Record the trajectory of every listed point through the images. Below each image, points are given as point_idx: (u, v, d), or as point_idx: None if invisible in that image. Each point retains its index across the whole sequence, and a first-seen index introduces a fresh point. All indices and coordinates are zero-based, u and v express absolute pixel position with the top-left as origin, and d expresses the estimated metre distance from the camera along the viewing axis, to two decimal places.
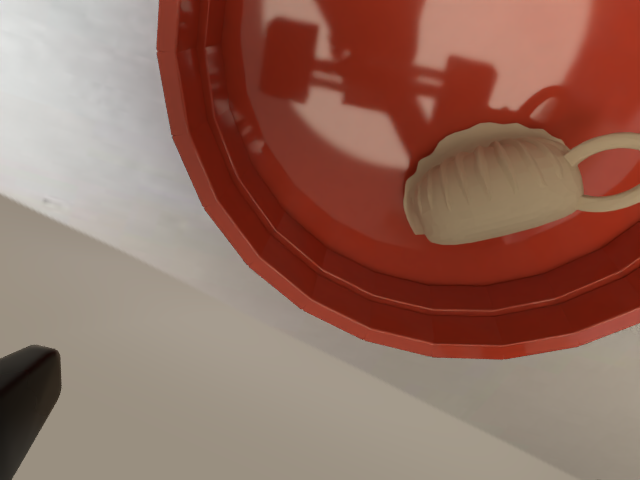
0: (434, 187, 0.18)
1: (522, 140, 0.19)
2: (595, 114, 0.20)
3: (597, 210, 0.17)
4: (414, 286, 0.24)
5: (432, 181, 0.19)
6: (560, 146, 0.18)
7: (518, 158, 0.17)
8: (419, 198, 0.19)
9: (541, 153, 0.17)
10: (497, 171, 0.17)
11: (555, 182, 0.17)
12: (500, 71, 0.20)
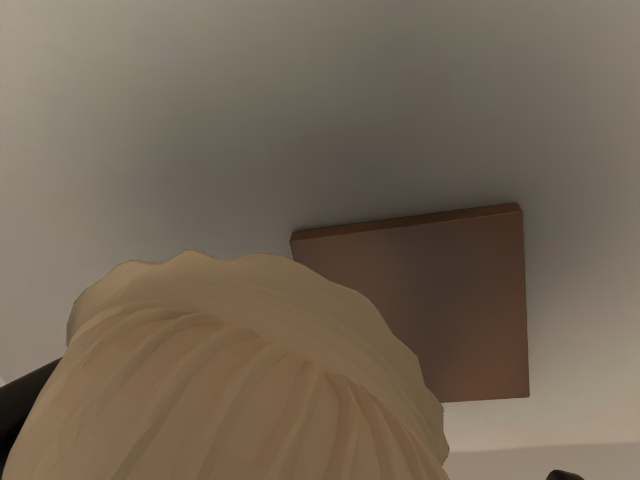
0: (112, 412, 0.05)
1: (402, 444, 0.07)
2: None
3: None
4: None
5: (125, 385, 0.05)
6: None
7: None
8: (60, 384, 0.06)
9: None
10: None
11: None
12: None
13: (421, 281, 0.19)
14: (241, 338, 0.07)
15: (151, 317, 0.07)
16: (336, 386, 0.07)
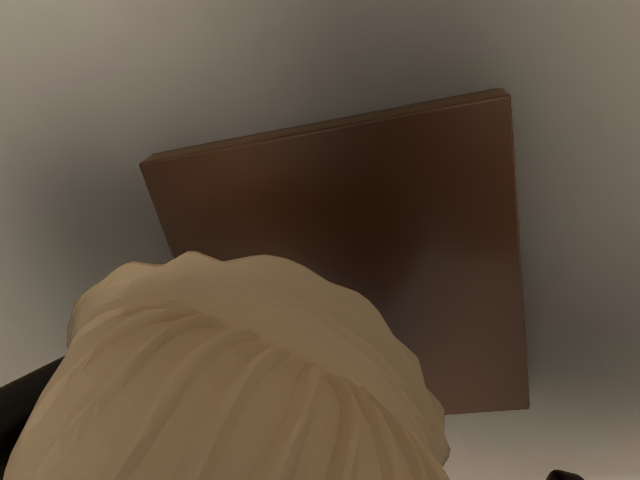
0: (111, 414, 0.05)
1: (403, 445, 0.07)
2: None
3: None
4: None
5: (126, 387, 0.05)
6: None
7: None
8: (61, 386, 0.06)
9: None
10: None
11: None
12: None
13: (351, 226, 0.12)
14: (242, 340, 0.07)
15: (152, 319, 0.07)
16: (337, 388, 0.07)
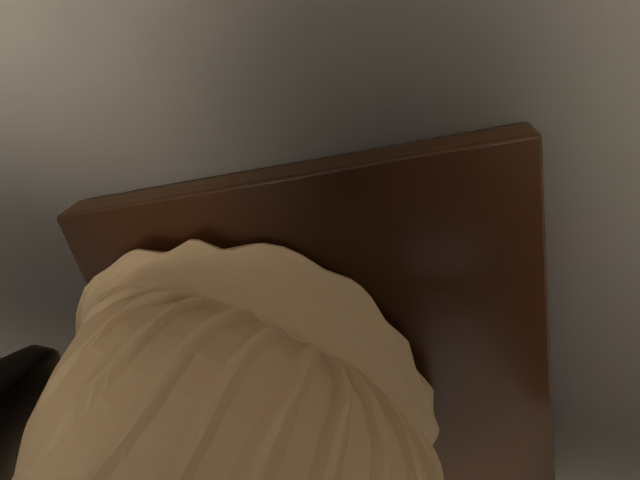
0: (122, 384, 0.06)
1: (392, 419, 0.07)
2: None
3: None
4: None
5: (134, 361, 0.06)
6: None
7: None
8: (74, 359, 0.06)
9: None
10: None
11: None
12: None
13: None
14: (241, 320, 0.07)
15: (157, 300, 0.07)
16: (330, 366, 0.07)
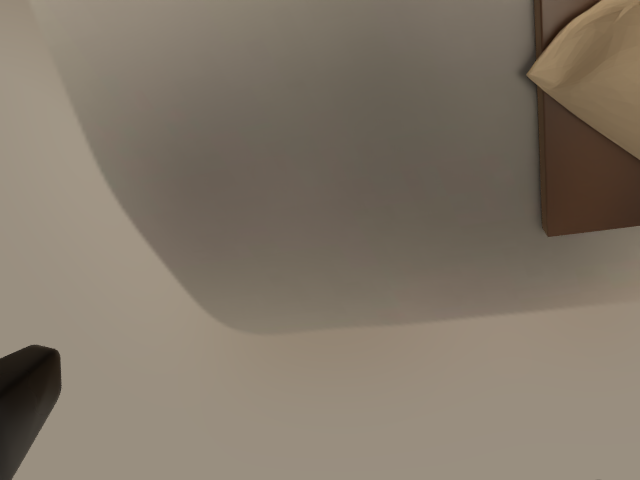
0: None
1: None
2: None
3: None
4: None
5: None
6: None
7: None
8: None
9: None
10: None
11: None
12: None
13: None
14: None
15: None
16: None
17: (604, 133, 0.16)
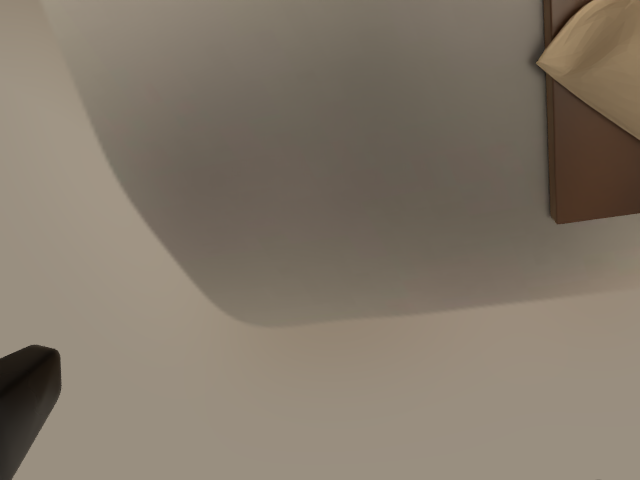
0: None
1: None
2: None
3: None
4: None
5: None
6: None
7: None
8: None
9: None
10: None
11: None
12: None
13: None
14: None
15: None
16: None
17: (613, 120, 0.16)
